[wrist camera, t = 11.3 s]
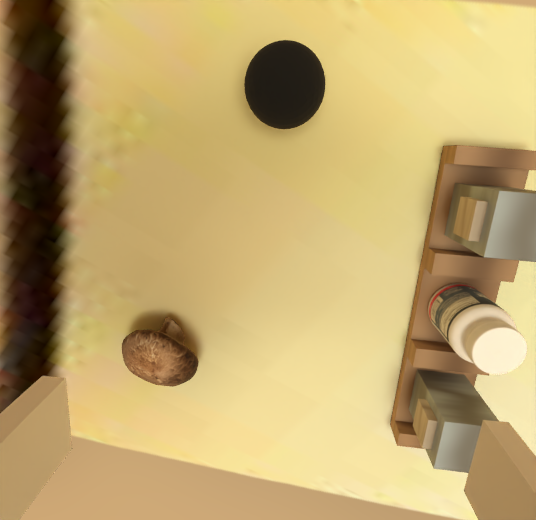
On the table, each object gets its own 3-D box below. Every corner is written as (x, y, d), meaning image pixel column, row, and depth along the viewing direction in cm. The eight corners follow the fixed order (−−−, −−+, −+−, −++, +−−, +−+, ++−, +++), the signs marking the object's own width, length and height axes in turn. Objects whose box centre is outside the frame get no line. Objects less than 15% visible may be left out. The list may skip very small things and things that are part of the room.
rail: (390, 424, 43) (413, 495, 34) (443, 146, 34) (492, 142, 26) (455, 432, 42) (496, 505, 33) (525, 152, 34) (604, 151, 25)
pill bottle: (493, 314, 37) (550, 361, 28) (444, 341, 38) (485, 394, 30) (465, 271, 36) (516, 307, 28) (416, 300, 37) (450, 343, 29)
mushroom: (166, 298, 37) (138, 357, 34) (223, 337, 41) (204, 393, 38) (126, 313, 42) (99, 366, 39) (181, 346, 46) (160, 397, 43)
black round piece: (334, 97, 34) (346, 75, 25) (288, 147, 36) (284, 144, 26) (287, 49, 33) (281, 6, 24) (243, 102, 35) (220, 81, 25)
